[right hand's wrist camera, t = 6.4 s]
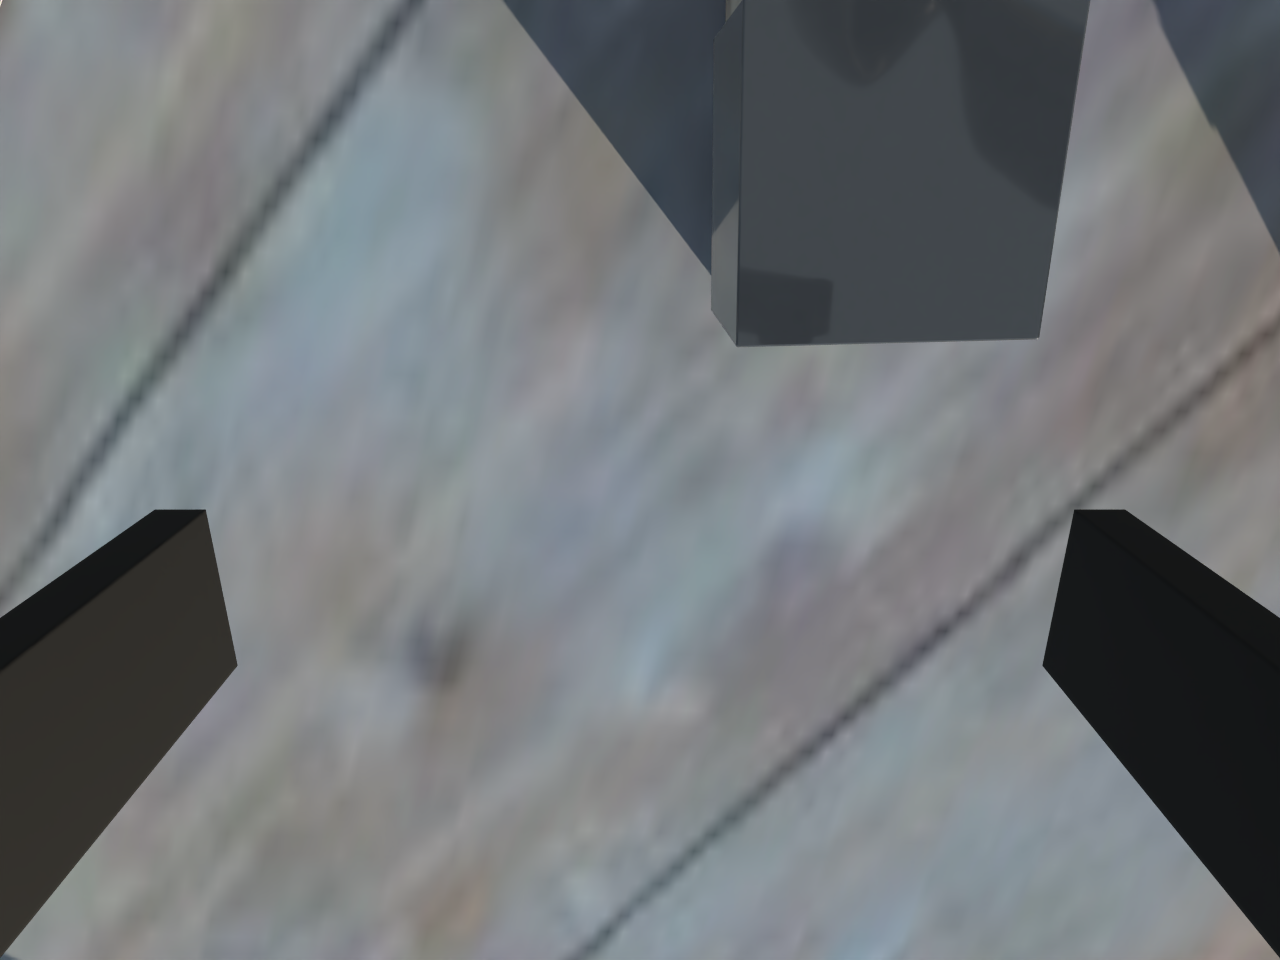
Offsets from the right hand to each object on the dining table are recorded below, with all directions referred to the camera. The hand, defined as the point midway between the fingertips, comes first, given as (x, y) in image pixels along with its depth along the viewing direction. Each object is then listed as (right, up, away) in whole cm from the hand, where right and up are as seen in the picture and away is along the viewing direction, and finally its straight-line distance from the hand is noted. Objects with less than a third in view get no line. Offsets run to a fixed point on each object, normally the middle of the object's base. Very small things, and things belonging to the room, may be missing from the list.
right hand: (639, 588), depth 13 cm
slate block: (+6, +11, +13) cm, 18 cm away
